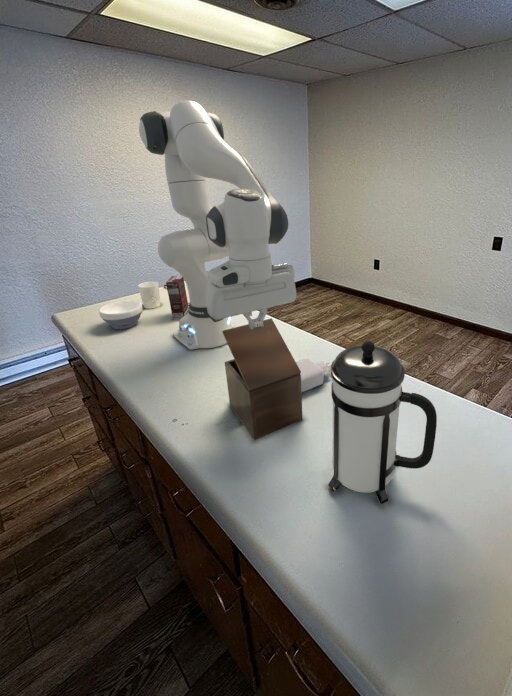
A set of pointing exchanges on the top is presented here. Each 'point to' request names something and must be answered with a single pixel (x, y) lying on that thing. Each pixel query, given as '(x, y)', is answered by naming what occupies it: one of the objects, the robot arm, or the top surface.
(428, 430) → the coffee press
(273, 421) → the box
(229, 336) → the lid
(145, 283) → the white cup
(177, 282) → the supplement box
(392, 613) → the top surface
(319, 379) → the tissue pack
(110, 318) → the bowl
